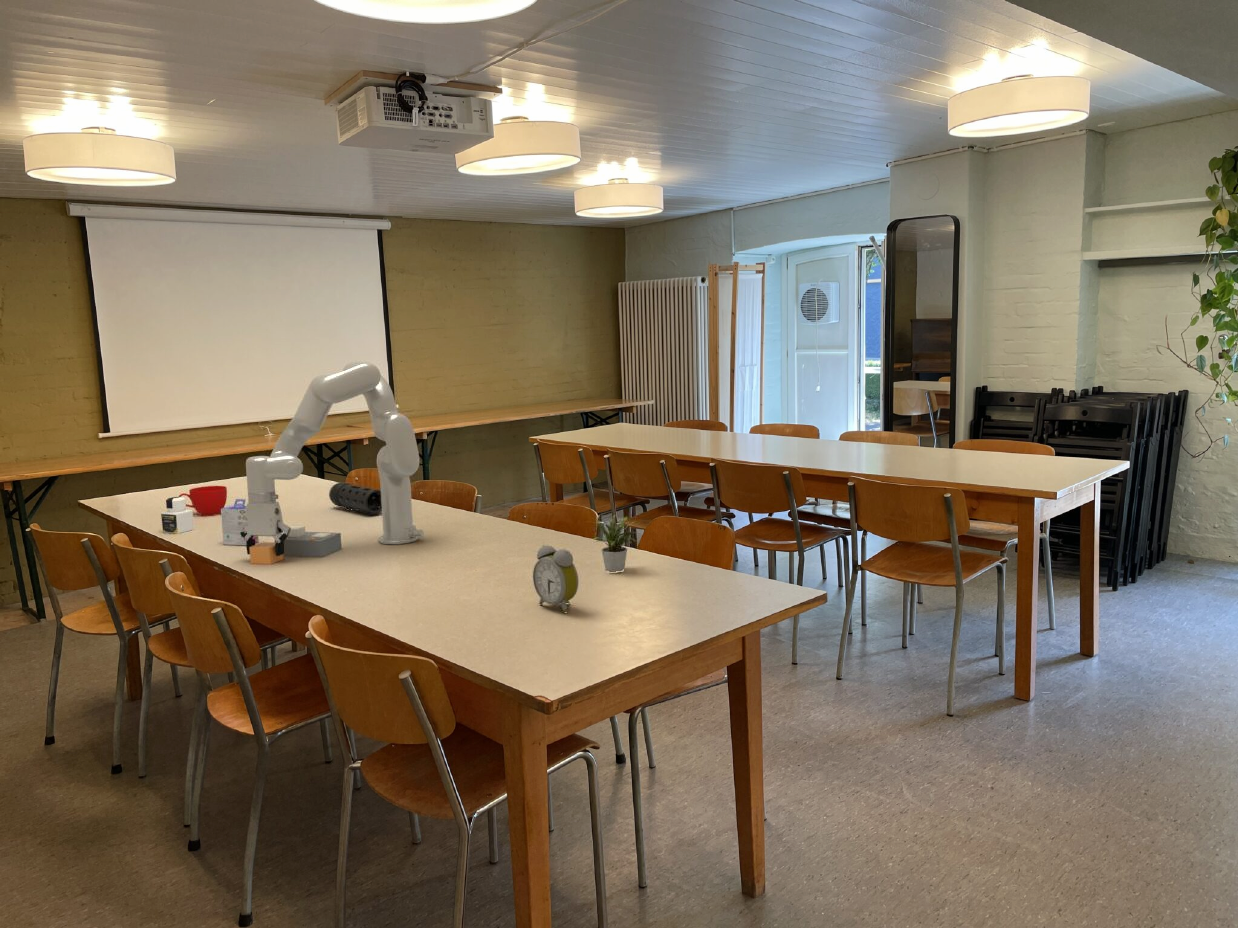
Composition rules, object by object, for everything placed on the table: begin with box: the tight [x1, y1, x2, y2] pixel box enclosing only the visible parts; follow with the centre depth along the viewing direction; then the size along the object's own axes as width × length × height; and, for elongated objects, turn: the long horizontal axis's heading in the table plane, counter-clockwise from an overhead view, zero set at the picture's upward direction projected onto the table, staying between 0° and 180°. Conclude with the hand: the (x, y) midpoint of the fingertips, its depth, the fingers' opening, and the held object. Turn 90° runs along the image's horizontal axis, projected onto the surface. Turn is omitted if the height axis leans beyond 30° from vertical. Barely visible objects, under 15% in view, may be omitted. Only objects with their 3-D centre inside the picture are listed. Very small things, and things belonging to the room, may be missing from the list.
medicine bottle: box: [160, 496, 195, 535], centre depth 302 cm, size 7×7×12 cm
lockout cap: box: [249, 541, 285, 565], centre depth 259 cm, size 7×7×5 cm
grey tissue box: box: [274, 531, 342, 558], centre depth 269 cm, size 16×11×6 cm
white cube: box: [288, 525, 306, 538], centre depth 270 cm, size 4×4×4 cm
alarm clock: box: [532, 544, 579, 613], centre depth 208 cm, size 12×7×15 cm, turn 45°
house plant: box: [587, 513, 637, 572], centre depth 239 cm, size 14×14×16 cm
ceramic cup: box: [178, 485, 228, 517], centre depth 331 cm, size 13×17×10 cm
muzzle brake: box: [328, 481, 382, 517], centre depth 331 cm, size 10×28×10 cm, turn 47°
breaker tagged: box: [310, 532, 331, 539], centre depth 268 cm, size 4×4×4 cm
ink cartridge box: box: [220, 498, 260, 546], centre depth 281 cm, size 10×6×14 cm, turn 78°
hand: (265, 554), depth 258 cm, fingers open, 9 cm apart
